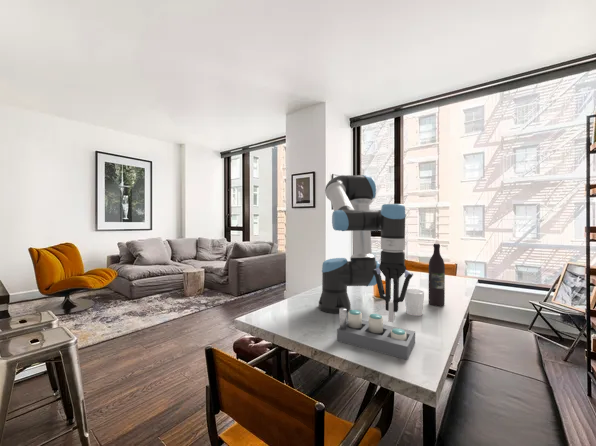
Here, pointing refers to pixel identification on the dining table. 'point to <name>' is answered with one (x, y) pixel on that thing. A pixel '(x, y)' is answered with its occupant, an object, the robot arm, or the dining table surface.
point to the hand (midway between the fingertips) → (391, 320)
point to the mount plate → (378, 340)
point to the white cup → (414, 302)
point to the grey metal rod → (342, 318)
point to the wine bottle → (436, 278)
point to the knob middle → (375, 323)
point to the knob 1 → (354, 319)
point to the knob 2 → (398, 334)
